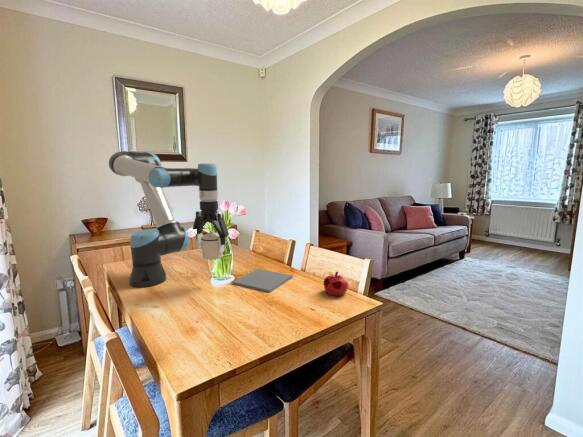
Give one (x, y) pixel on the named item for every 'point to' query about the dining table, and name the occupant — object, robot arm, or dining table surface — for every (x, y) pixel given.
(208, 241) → the teacup with lid
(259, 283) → the slate tile
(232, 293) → the dining table surface
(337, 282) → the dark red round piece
